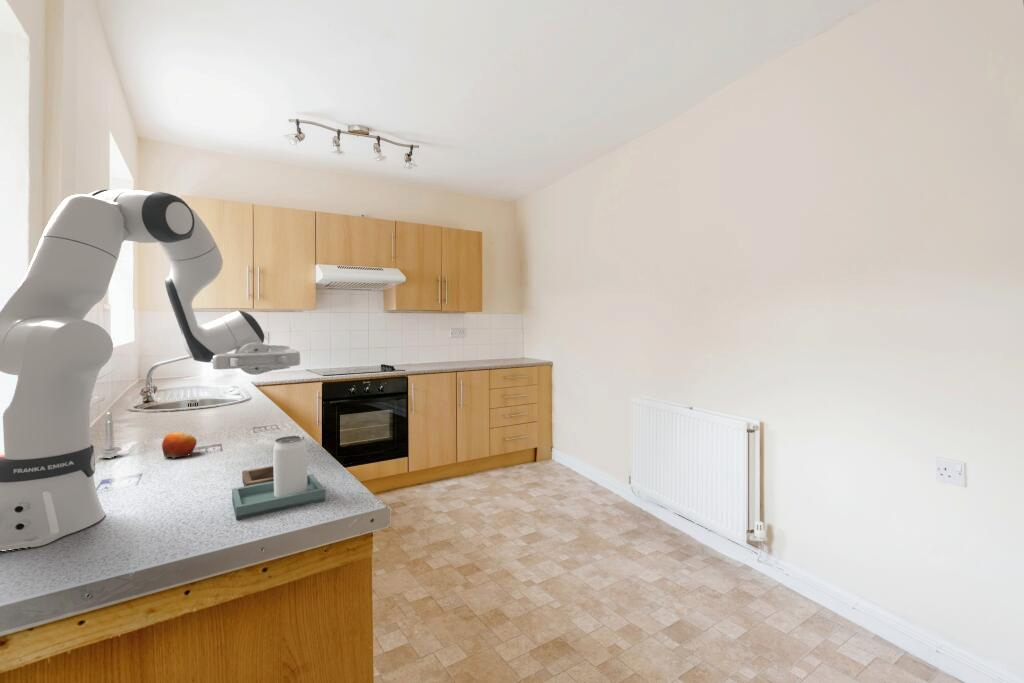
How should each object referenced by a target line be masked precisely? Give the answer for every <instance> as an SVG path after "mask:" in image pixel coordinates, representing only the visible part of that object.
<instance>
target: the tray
mask: <svg viewBox="0 0 1024 683" xmlns="http://www.w3.org/2000/svg"><path fill="white" fill-rule="evenodd" d="M325 490H326V489H325V488H324V486H323V485H322V483H320V481H319V480H318V479H317V478H316V476H315V475H314V474H313V473H311V474H307V491H306V492H301V493H296V494H291V495H286V496H281V497H277V498H276V497H275V496H274V481H272V482H266V483H261V484H255V485H250V486H245V487H244V486H240V487H234V488H231V499H232V500H231V502H232V505H233V506H232V507H233V509H234V515H235V519H236V521H241V520H244V519H249V518H254V517H258V516H259V517H260V516H263V515H269V514H271V513H277V512H281V511H286V510H290V509H291V510H292V509H295V508H300V507H303V506H308V505H313V504H317V503H322V502H325V501H326V492H325Z"/></svg>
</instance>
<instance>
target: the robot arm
mask: <svg viewBox="0 0 1024 683" xmlns="http://www.w3.org/2000/svg"><path fill="white" fill-rule="evenodd" d="M124 241H129V242H136V243H139V244H140V243H144V244H148V243H149V244H151V243H159V245H160V247H161V250H162V251H163V253H164V255H165V257H166V259H167V260H168V263H169V266H170V268H169V270H170V271H169V274H168V276H167V277H166V278H165V280H164V283H165V284H164V285H165V289H166V293H167V296H168V299H169V302H170V304H171V308H172V310H173V312H174V315H175V318H176V321H177V324H178V327H179V329H180V332H181V335H182V342H183V345H184V349H185V351H186V353H187V354H188V355H189V357H191V359H193V361H196V362H201V363H212V369H213V370H235V369H237V370H238V369H240V370H241V371H242V372H244V373H246V374H249V375H252V376H253V375H255V376H257V375H261V374H264V373H268V372H272V371H279V370H286V369H290V368H291V367H296V366H300V365H301V353H300V351H299V350H296V349H294V348H290V346H289V345H272V344H266V343H264V341H265V333H264V331H263V329H262V327H261V326H260V324H259V323H258V321H257V320H256V318H254V316H252V314H249V313H248V312H245V311H242V310H236V311H233V312H231V313H228V314H226V315H224V316H221V317H219V318H217V319H214V320H211V321H209V322H207V323H204V324H201V325H199V324H198V321H197V319H196V318H197V317H196V316H195V312H194V310H193V307H192V305H193V301H194V299H195V297H196V296H198V294H199V293H200V292H201V291H202V290H204V288H206V287H207V286H208V285H210V284H211V283H212V282H214V281H215V279H216V278H217V277H218V276H219V274H220V273H221V271H222V268H223V263H224V262H223V261H224V260H223V257H222V254H221V251H220V249H219V247H218V244H217V243H216V241H215V238H214V237H213V235H212V234H211V232H210V231H209V228H208V226H206V224H205V222H204V221H203V220H202V218H200V216H199V215H198V214H197V212H196V211H195V210H194V209H192V208H191V207H189V205H188V203H187V202H185V201H184V200H183V199H182V198H181V197H179V196H177V195H174V194H172V193H169V192H163V191H157V192H156V191H155V192H154V191H147V190H137V189H115V190H114V189H112V190H111V189H99V190H96V191H92V192H90V193H88V194H74V195H70V196H68V197H66V198H65V199H64V200H63V201H62V202H61V204H60V205H59V206H58V207H57V209H56V210H55V211H54V212H53V215H52V216H51V218H50V219H49V221H48V223H47V225H46V227H45V228H44V230H43V233H42V236H41V238H40V240H39V243H38V245H37V247H36V250H35V253H34V254H33V257H32V260H31V262H30V265H29V266H28V269H27V272H26V274H25V276H24V277H23V279H22V281H21V283H20V284H19V285H18V287H17V288H16V290H15V291H14V292H13V294H12V295H11V297H10V298H9V299H8V301H6V303H5V304H4V306H3V308H2V309H1V311H0V372H2V373H4V374H8V375H13V376H17V382H16V387H15V389H14V393H13V396H12V399H11V401H10V403H9V406H7V407H6V409H5V410H4V412H3V413H2V414H3V415H2V429H3V431H2V432H3V446H4V448H3V449H4V454H0V551H2V550H9V549H18V550H20V549H19V548H25V549H28V548H27V547H31V548H35V547H37V548H38V547H41V546H45V545H47V544H48V545H49V544H50V543H52V542H54V541H56V540H58V539H60V538H62V537H64V536H68V535H69V534H74V533H76V532H78V531H81V530H84V529H86V528H89V527H91V526H93V525H94V524H97V523H98V522H100V521H101V520H103V518H104V517H105V516H106V512H105V511H104V509H103V507H102V503H101V502H100V499H99V495H98V492H97V487H96V484H95V477H94V474H95V472H96V452H95V449H94V448H95V446H94V445H93V444H91V424H90V422H91V421H90V420H91V419H90V410H91V408H90V407H91V400H92V396H93V392H94V389H95V384H96V382H97V379H98V376H99V373H100V372H101V370H102V369H103V367H104V366H106V364H107V363H108V362H109V361H110V359H111V357H112V354H113V352H114V343H113V339H112V337H111V336H110V334H109V333H108V332H107V330H106V329H104V328H103V327H102V326H100V325H98V324H97V323H94V322H91V321H90V320H89V321H88V320H85V319H84V318H85V317H86V316H87V315H88V313H89V312H90V311H91V310H92V309H93V307H95V306H96V305H97V304H98V303H99V302H101V300H103V299H104V297H105V296H106V294H107V291H108V288H109V285H110V282H111V279H112V277H113V274H114V270H115V268H116V265H117V262H118V259H119V256H120V253H121V250H122V249H121V248H122V246H123V245H122V244H123V242H124ZM232 351H234V352H233V353H232Z"/></svg>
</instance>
